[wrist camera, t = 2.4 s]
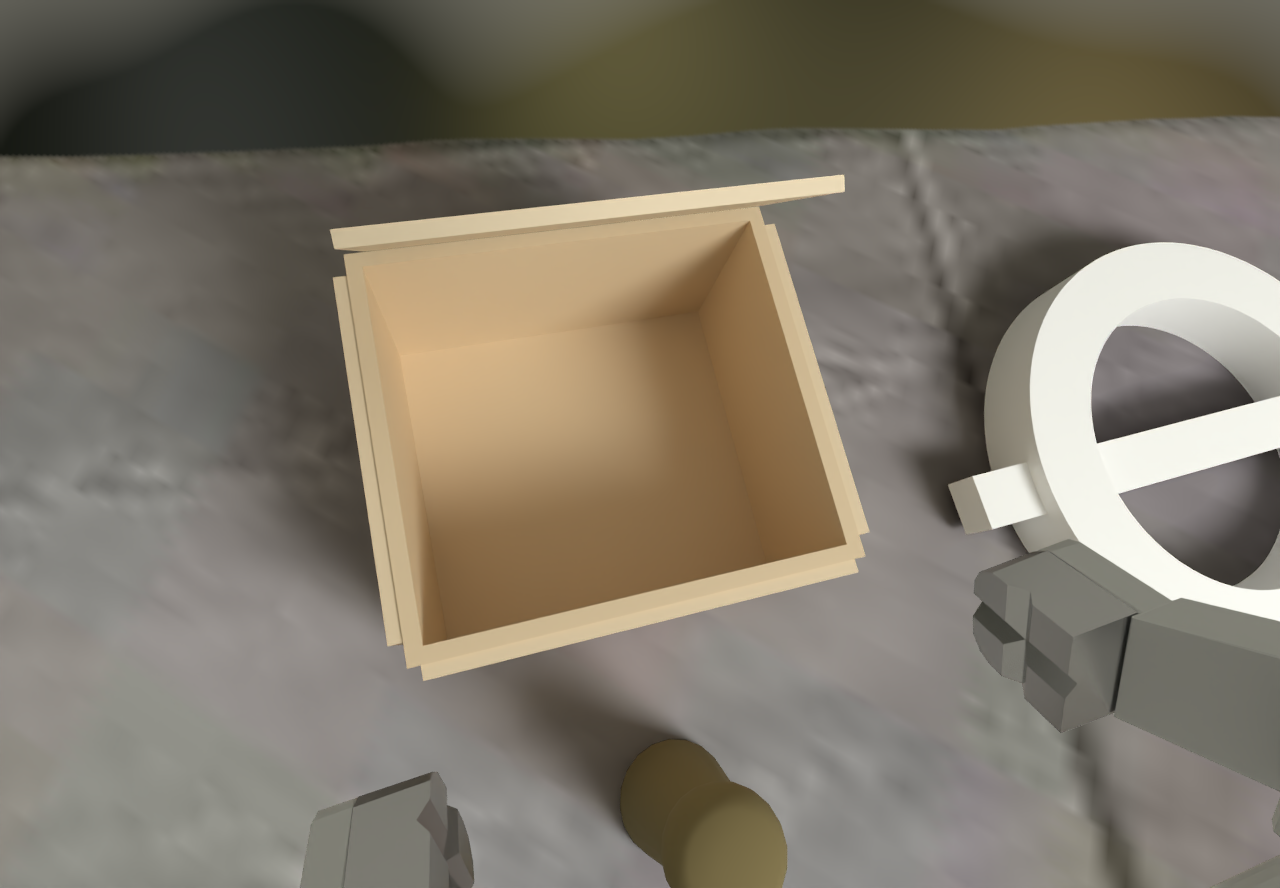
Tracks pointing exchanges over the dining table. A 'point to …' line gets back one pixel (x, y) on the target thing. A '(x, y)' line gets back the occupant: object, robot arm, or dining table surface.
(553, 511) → the carton
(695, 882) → the cork
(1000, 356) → the ring with crossbar
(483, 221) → the carton flap
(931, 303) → the dining table surface
